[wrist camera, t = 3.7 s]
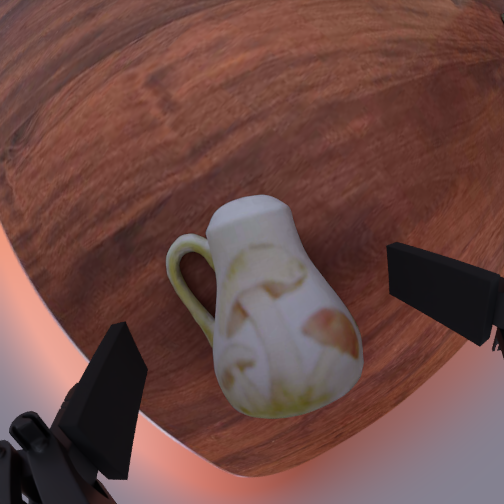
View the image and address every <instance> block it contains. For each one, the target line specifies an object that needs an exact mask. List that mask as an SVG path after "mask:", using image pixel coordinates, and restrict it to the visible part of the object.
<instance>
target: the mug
mask: <svg viewBox="0 0 504 504" xmlns="http://www.w3.org/2000/svg"><path fill="white" fill-rule="evenodd" d="M206 237H207V239H206V238H204V237H201V236H199V235H196V234H185V235H182V236H180V237H178V238H177V240H176V241H175V242H174V243H173V244H172V246H171V247H170V249H169V251H168V253H167V257H166V270H167V275H168V278H169V280H170V282H171V284H172V286H173V288H174V290H175V292H176V294H177V295H178V296H179V298H180V299H181V300H182V302H183V303H184V304H185V306H186V307H187V308H188V310H189V311H190V313H191V314H192V316H193V318H194V319H195V321H196V322H197V323H198V324H199V326H200V327H201V329H202V330H203V332H204V334H205V335H206V337H207V339H208V341H209V344H210V345H211V347H212V348H213V360H214V369H215V374H216V377H217V380H218V383H219V386H220V388H221V389H222V391H223V393H224V395H225V397H226V398H227V400H228V401H229V403H230V404H231V405H232V407H233V408H235V409H236V410H237V411H238V412H241V413H243V414H245V415H248V416H251V417H257V418H268V419H277V418H287V417H293V416H298V415H302V414H305V413H309V412H311V411H314V410H317V409H319V408H321V407H324V406H326V405H328V404H330V403H332V402H333V401H335V400H337V399H339V398H340V397H342V396H344V395H345V394H346V393H348V392H349V391H350V390H351V389H352V388H353V386H354V385H355V384H356V383H357V381H358V380H359V378H360V377H361V373H362V368H363V363H364V361H363V348H362V340H361V334H360V331H359V329H358V326H357V324H356V322H355V320H354V319H353V317H352V315H351V314H350V312H349V310H348V309H347V307H346V306H345V305H344V303H343V302H342V301H341V299H340V298H339V297H338V295H337V294H336V293H335V291H334V290H333V289H332V288H331V287H330V285H329V284H328V283H327V281H326V280H325V279H324V277H323V276H322V275H321V274H320V272H319V271H318V270H317V268H316V267H315V266H314V264H313V263H312V262H311V260H310V259H309V257H308V255H307V253H306V252H305V250H304V248H303V245H302V243H301V240H300V238H299V235H298V233H297V230H296V227H295V224H294V221H293V217H292V213H291V210H290V208H289V206H287V205H286V204H284V203H283V202H281V201H280V200H278V199H276V198H274V197H272V196H268V195H255V196H248V197H243V198H240V199H236V200H233V201H231V202H229V203H226V204H225V205H223V206H221V207H220V208H219V209H218V210H217V211H216V212H215V213H214V215H213V216H212V218H211V221H210V224H209V226H208V228H207V230H206ZM189 252H197V253H200V254H201V255H202V256H203V257H205V259H206V260H207V262H208V263H209V265H210V266H211V267H212V268H213V270H214V271H215V273H216V281H217V297H216V312H215V318H214V317H213V316H212V315H211V314H210V313H209V312H208V311H207V310H206V308H205V307H204V306H203V305H202V304H201V303H200V302H199V301H198V300H197V298H196V297H195V296H194V295H193V293H192V292H191V290H190V289H189V288H188V286H187V284H186V283H185V281H184V278H183V276H182V274H181V271H180V267H179V264H180V260H181V258H182V256H183V255H185V254H186V253H189Z"/></svg>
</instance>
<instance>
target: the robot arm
mask: <svg viewBox="0 0 504 504" xmlns="http://www.w3.org/2000/svg"><path fill="white" fill-rule="evenodd" d="M386 247H387V259H388V273H389V294H391V295H392V296H394V297H396V298H398V299H399V300H401V301H403V302H405V303H407V304H408V305H410V306H412V307H414V308H415V309H417V310H419V311H421V312H422V313H424V314H426V315H428V316H429V317H431V318H433V319H434V320H436V321H438V322H440V323H441V324H443V325H445V326H446V327H448V328H450V329H451V330H453V331H455V332H456V333H458V334H460V335H461V336H463V337H465V338H466V339H468V340H470V341H472V342H473V343H475V344H476V345H478V346H481V345H482V344H483V343H484V342H486V341H487V340H488V339H489V338H490V334H491V329H492V325H495V326H497V331H496V335H495V339H494V343H493V347H492V351H495V347H496V345H497V344H499V346H498V350H501V351H502V354H503V358H504V278H503V277H500V275H499V274H497V273H494V272H491V271H488V270H485V269H482V268H479V267H476V266H473V265H470V264H467V263H464V262H461V261H458V260H455V259H452V258H449V257H446V256H442V255H439V254H436V253H433V252H430V251H426V250H423V249H420V248H416V247H413V246H409V245H406V244H403V243H399V242H395V243H393V244H390V245H387V246H386ZM147 371H148V368H147V366H146V365H145V363H144V361H143V359H142V356H141V354H140V352H139V350H138V348H137V346H136V344H135V342H134V340H133V337H132V335H131V333H130V331H129V328H128V326H127V324H126V322H121V323H117V324H112V325H111V326H110V328H109V330H108V331H107V333H106V335H105V336H104V338H103V340H102V341H101V343H100V345H99V347H98V348H97V350H96V352H95V354H94V355H93V357H92V359H91V361H90V363H89V364H88V366H87V368H86V370H85V372H84V374H83V375H82V377H81V379H80V381H79V383H76V384H75V385H74V386H73V387H72V388H71V389H70V391H69V392H68V394H67V396H66V397H65V399H64V400H65V402H63V403H62V405H61V409H59V411H58V413H57V415H56V417H55V419H54V421H53V423H52V425H51V428H50V429H49V428H48V427H47V426H46V424H45V423H44V422H43V420H42V419H41V418H40V417H39V415H38V414H37V413H35V412H33V411H30V412H25V413H23V414H21V415H19V416H18V417H17V418H16V419H15V420H14V421H13V422H12V424H11V426H10V428H9V433H10V435H11V436H12V437H13V438H14V439H15V440H16V441H17V443H18V444H19V445H20V446H21V447H22V448H23V449H22V450H15V449H14V447H13V446H12V445H11V444H10V443H9V442H8V441H6V440H2V441H0V504H27V503H26V502H25V501H23V500H22V494H24V495H25V496H26V497H27V498H28V499H29V504H117V503H116V502H115V501H114V499H113V498H112V497H111V495H110V494H109V492H108V491H107V490H106V488H105V487H104V485H103V484H102V483H101V482H100V481H99V480H98V479H97V473H98V470H99V471H100V472H101V473H102V474H103V475H104V476H105V477H106V478H108V479H113V480H127V479H128V472H129V465H130V458H131V452H132V446H133V439H134V433H135V428H136V423H137V418H138V413H139V408H140V403H141V398H142V394H143V389H144V385H145V380H146V376H147Z"/></svg>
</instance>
